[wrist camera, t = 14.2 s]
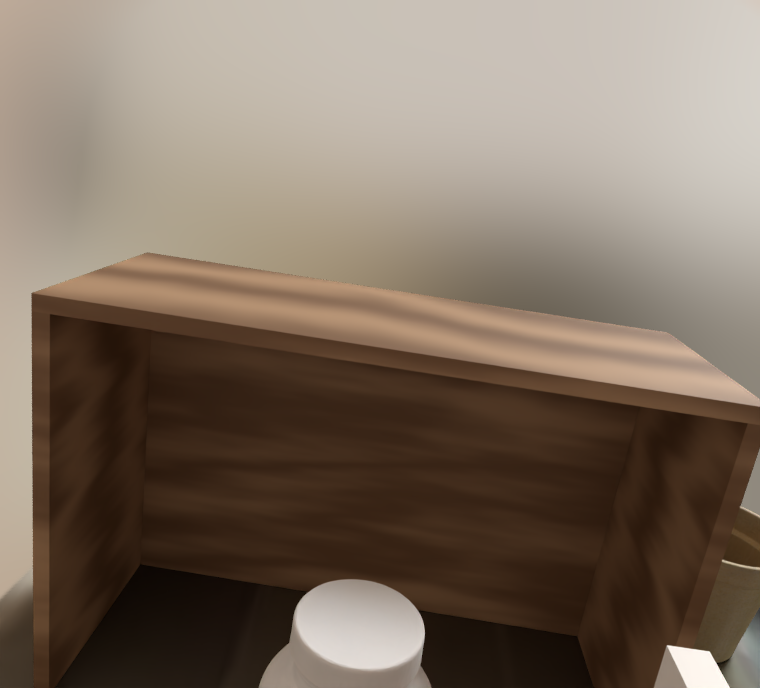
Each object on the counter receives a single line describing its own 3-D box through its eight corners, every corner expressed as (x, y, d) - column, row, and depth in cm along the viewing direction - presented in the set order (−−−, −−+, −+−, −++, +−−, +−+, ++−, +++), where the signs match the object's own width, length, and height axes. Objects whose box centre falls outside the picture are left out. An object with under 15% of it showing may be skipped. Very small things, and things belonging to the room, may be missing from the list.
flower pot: (754, 710, 40) (799, 590, 38) (600, 636, 45) (632, 524, 43) (763, 630, 48) (800, 526, 46) (631, 573, 53) (659, 476, 50)
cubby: (643, 796, 34) (772, 408, 28) (33, 693, 34) (31, 292, 28) (586, 629, 45) (668, 332, 39) (133, 555, 46) (147, 252, 40)
